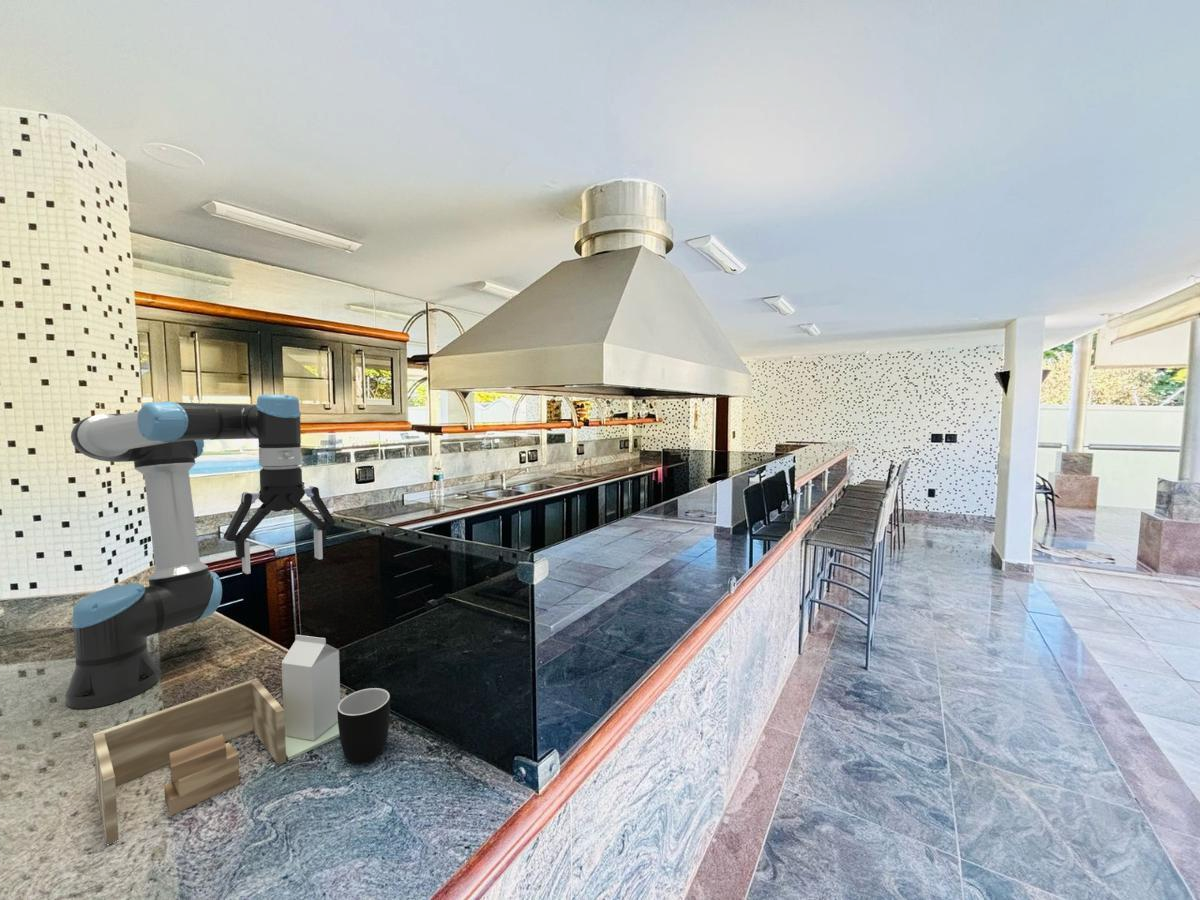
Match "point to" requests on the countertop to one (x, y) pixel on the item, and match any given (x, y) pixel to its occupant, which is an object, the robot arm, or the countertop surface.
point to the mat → (309, 742)
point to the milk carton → (310, 687)
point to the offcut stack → (201, 773)
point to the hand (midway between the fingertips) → (284, 565)
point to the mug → (364, 724)
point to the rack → (182, 738)
